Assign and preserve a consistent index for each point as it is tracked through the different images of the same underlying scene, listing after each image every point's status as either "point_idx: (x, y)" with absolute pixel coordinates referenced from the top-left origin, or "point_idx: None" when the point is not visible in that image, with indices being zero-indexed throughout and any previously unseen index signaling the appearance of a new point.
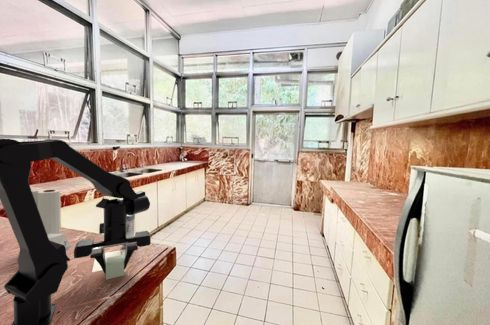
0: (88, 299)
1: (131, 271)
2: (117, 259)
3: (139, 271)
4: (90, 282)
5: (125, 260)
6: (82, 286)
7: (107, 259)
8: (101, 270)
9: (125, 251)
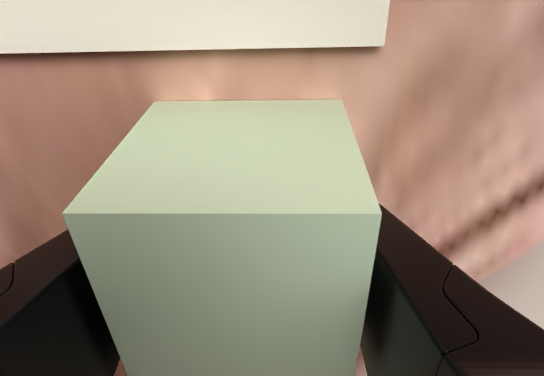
0: None
1: (408, 197)
2: (265, 327)
3: (477, 227)
4: (59, 222)
5: (373, 372)
6: (19, 249)
7: (101, 272)
8: (78, 51)
9: (430, 343)
